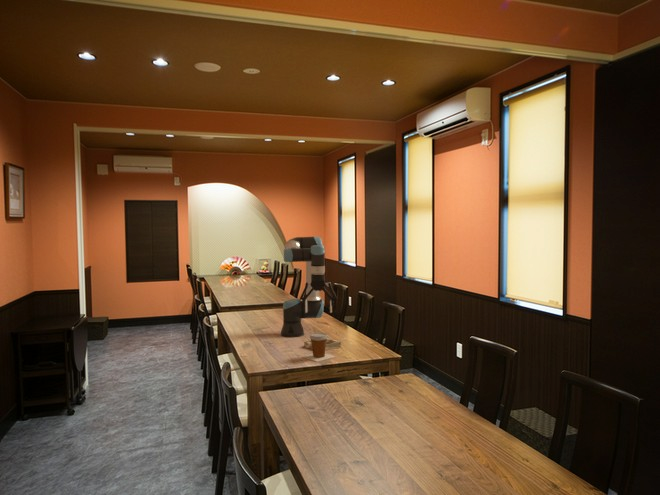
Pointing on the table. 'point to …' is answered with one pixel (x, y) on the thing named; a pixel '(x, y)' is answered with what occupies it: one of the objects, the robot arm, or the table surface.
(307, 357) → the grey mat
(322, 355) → the disposable coffee cup
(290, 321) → the robot arm
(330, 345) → the square wooden tray
